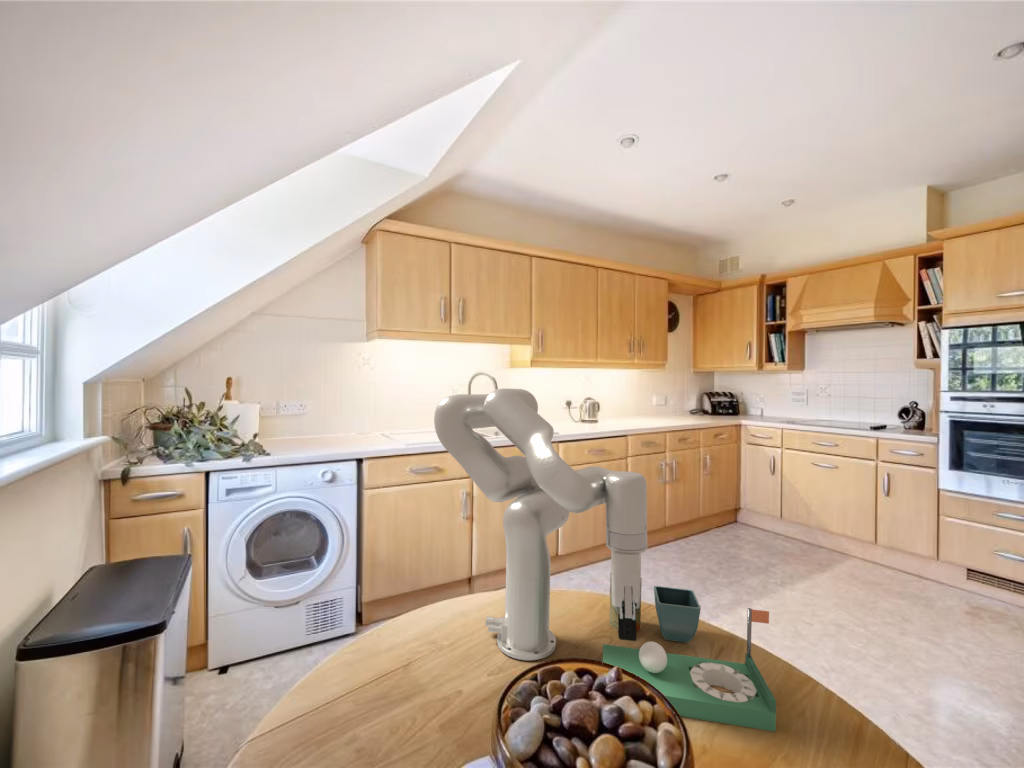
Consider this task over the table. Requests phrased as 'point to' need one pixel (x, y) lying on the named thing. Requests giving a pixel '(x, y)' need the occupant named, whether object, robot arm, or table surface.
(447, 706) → the table surface
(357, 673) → the table surface
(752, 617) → the flag
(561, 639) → the table surface
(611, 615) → the shoe polish box
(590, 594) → the table surface
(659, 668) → the ball
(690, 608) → the flower pot
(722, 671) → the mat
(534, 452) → the robot arm
